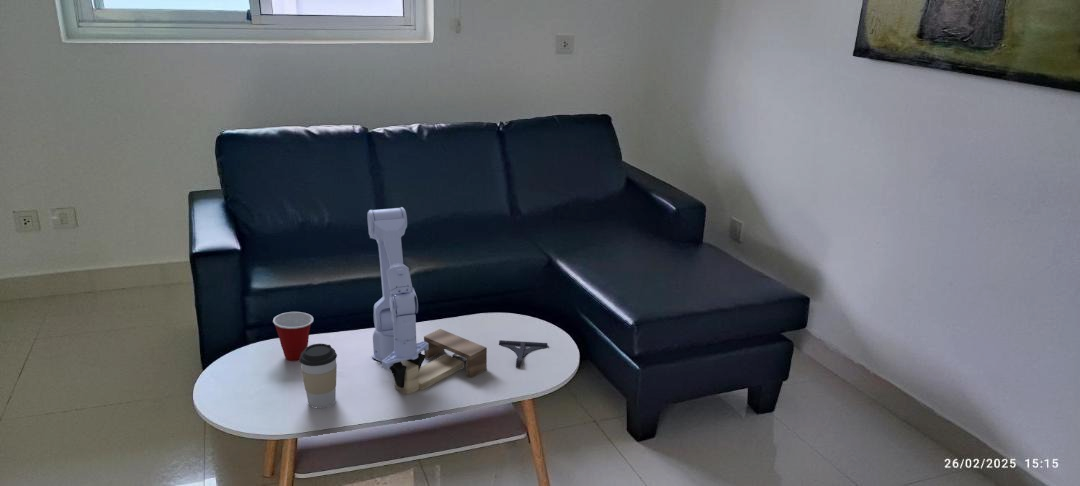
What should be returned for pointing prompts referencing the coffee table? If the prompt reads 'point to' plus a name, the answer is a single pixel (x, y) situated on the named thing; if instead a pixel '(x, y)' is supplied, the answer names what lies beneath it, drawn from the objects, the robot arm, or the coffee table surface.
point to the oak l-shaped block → (428, 373)
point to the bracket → (522, 348)
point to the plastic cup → (293, 333)
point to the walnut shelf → (457, 350)
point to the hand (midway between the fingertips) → (406, 382)
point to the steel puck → (459, 357)
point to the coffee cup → (319, 374)
